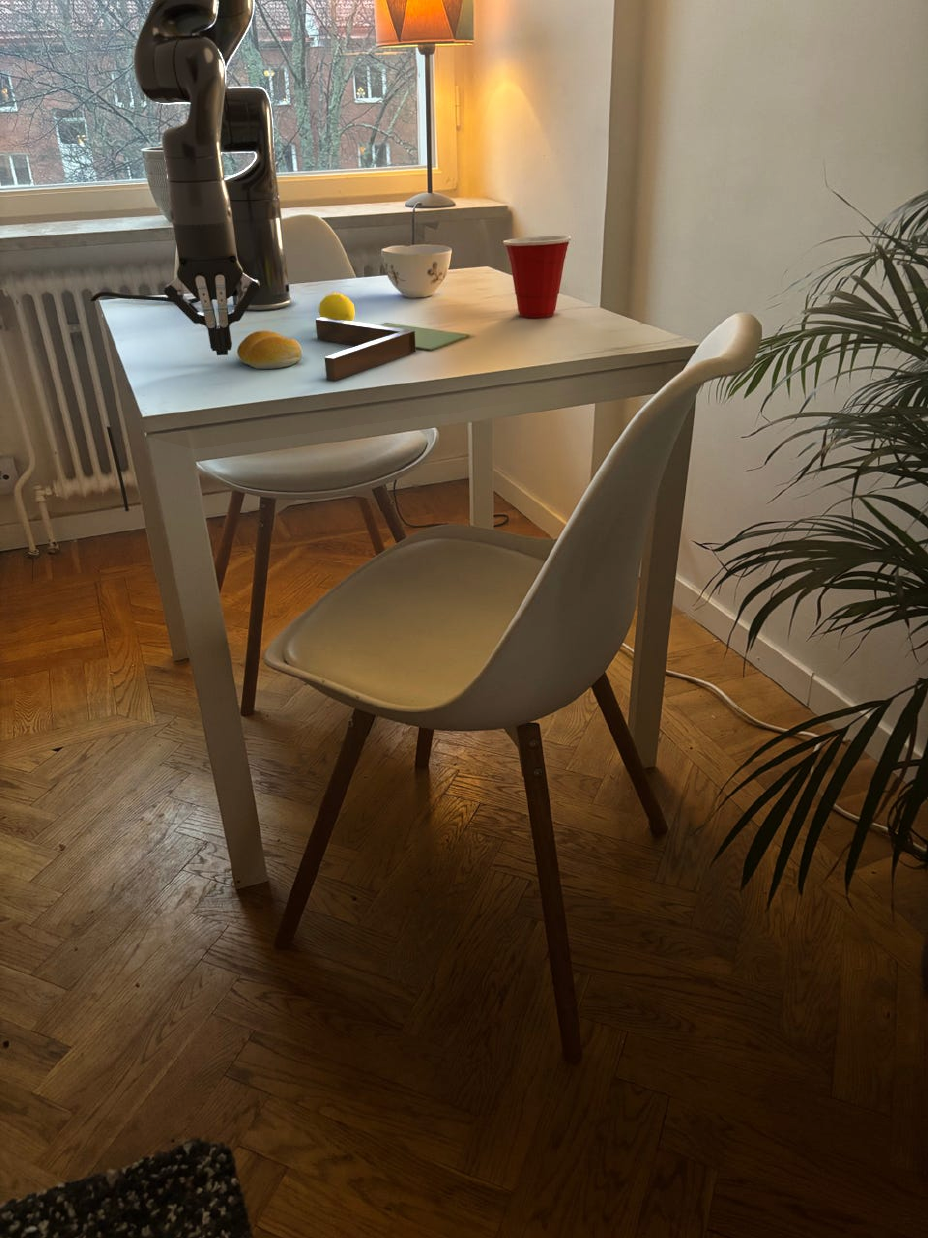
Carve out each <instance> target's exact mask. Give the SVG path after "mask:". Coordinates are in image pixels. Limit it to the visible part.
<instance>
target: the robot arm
mask: <svg viewBox="0 0 928 1238" xmlns="http://www.w3.org/2000/svg"><path fill="white" fill-rule="evenodd" d="M254 12H255V0H153V1H152V3H151V6H150V7H149V10H148V13H147V16H146V18H145V19H144V20H145V21H144V22H143V25H142V28H141V30H140V33H139V35H138V38H137V40H136V41H137V42H136V44H135V48H134V54H133V55H134V56H133V69H134V76H135V79H136V82H137V84H138V87H139V88H140V90H141V92H142V93H143V95H144V96H145V97H146V98H147V99H149V100H150V101H152V102H154V103H155V104H156V103H157V104H162V105H175V104H176V105H177V104H179V105H181V104H183V105H184V104H185V105H186V104H189V111H188V115H187V119H186V121H185V122H184V123H182V124H179V125H176V126H175V125H174V126H172V127H170V128H167V129H166V130H165V131H164V132H163V133H162V136H161V144H162V145H161V146H162V152H163V157H164V158H163V159H164V164H165V170H166V171H165V172H166V175H167V176H166V177H167V183H168V184H167V185H168V202H169V208H170V210H169V213H170V219H171V221H172V227H173V234H174V239H175V245H176V252H177V258H178V268H177V270H176V277H175V278H174V279H173V280H172V281H171V282H170V283H167V284H166V285H165V287H164V290H163V293H164V294H165V296H157V295H156V296H155V295H141V294H124V293H119V292H113V291H99V292H97V293H95V294H94V295H93V296H92V298H91V299H90V302H96V301H97V300H98V299H99V298H101V297H113V298H118V299H123V300H137V301H138V300H141V301H153V302H155V301H157V302H169V303H173V304H174V305H175V306H176V307H177V308H178V309H179V310H180V311H181V312H182V313H183V315H185V316H186V317H187V318H188V319H189V320H190V321H191V322H192V323H193V324H195V325H201V326H204V327H206V329H207V334H208V341H209V346H210V349H211V351H212V352H216V356H228V355H229V351H232V346H233V342H232V335H231V334H232V333H231V327H230V326H231V325H232V324H235V323H236V322H237V323H238V322H240V321H241V320H242V318H243V316H244V315H245V313H246V312H247V310H248V311H268V310H269V311H270V310H276V309H282V308H285V307H288V306H290V305H291V304H292V298H291V292H290V281H289V273H288V262H287V255H286V254H287V253H286V244H285V236H284V225H283V217H282V208H281V199H280V192H279V183H278V175H277V166H276V155H275V141H274V139H275V138H274V122H273V112H272V105H271V100H270V97H269V95H268V93H267V91H266V90H265V89H264V88H263V87H259V86H245V87H244V86H231V87H230V86H229V87H227V86H226V85H227V72H226V71H227V68H228V67H229V66H228V65H229V63H230V61H231V59H232V57H233V56H234V54H235V53H236V51H237V49H238V48H239V46H240V45H241V42H242V40H243V39H244V37H245V36H246V33H247V32H248V30H249V28H250V26H251V23H252V20H253V16H254ZM222 153H223V154H237V153H238V154H239V153H254V154H255V158H254V160H253V161H252V163H251V164H250V165H248V166H247V167H246V168H245V169H244V170H242V171H240V172H237V173H236V174H233V175H232V176H228V177H226V175H225V168H224V162H223V154H222ZM183 285H184V287H185V288H186V289H187V290H188V291H189V293H191V295H193V297H194V298H191V299H189V298H187V297H186V296H185V292H186V291H185V288H184V287H183ZM230 298H232V304H233V306H234V308H233V310H232V311H229V299H230ZM213 300H215V301H216V305H217V306H216V307H217V316H218V321H217V316H216V313H215V312H216V311H215V308H214V302H213ZM199 302H200V304H201V310H202V312H201V311H200V310H199V308H197V307H196V306H195V305H194V304H196V303H199ZM106 430H107V434H108V439H109V443H110V447H111V451H112V456H113V461H114V464H115V469H116V473H117V477H118V482H119V486H120V487H119V488H120V492H121V495H122V496H121V497H122V501H123V506H124V511H125V512H130V508H129V503H128V497H127V494H126V488H125V484H124V479H123V475H122V474H123V473H122V471H121V466H120V462H119V457H118V453H117V449H116V445H115V439H114V437H113V436H114V435H113V432H112V427H110V426H106Z"/></svg>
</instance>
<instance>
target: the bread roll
mask: <svg viewBox="0 0 928 1238" xmlns="http://www.w3.org/2000/svg"><path fill="white" fill-rule="evenodd" d="M236 351H237V352H236V354H237V356H238V358H239V359H240V361H241V362H242V363H244V364H246V365H249V366H251V367H252V368H253V369H258V370H269V369H272V370H273V369H282V368H287V367H290V366H293V365H296V363H298V362H299V361H300V360H301V359H302V358H303V357H302V356H303V354H302V352H303V350H302V347H301V346H300V344H299V342H298V341H297V340H296V339H293V338H290V337H284V336H283V335H282V334H279V333H277V332H275V331H272V330H271V331H270V330H258V331H254V332H252V333H250V334H248V335H247V336H246V337H244V339H243V340H241V342H240V343H239V345H238V346H237V349H236Z"/></svg>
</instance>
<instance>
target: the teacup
mask: <svg viewBox="0 0 928 1238" xmlns="http://www.w3.org/2000/svg"><path fill="white" fill-rule="evenodd" d="M452 251H453V250H452V248H451V247H450V246H446V245H442V244H440V245H439V244H429V243H427V244H424V243H423V244H410V245H408V246H406V245H403V244H402V245H391V246H388V247H384V248H381V249H380V254H381V255H380V256H381V261H382V264H383V268H384V271H385V274H386V276H387V278H388V280H389V281H390V283H391V284H392V285H393V287H394V288H395V289H396V290H397V291H398V292H399V293H400V294H401V295H402V296H403V297H405V298H414V299H415V298H425V297H426V298H427V297H429V296H434V295H435V293H436V291H437V290H439V288H440V286H441V285H442V284H443V283H444V281H445V279H446V277H447V274H448V272H449V268H450V264H451V258H452V253H453V252H452Z"/></svg>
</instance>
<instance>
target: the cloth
mask: <svg viewBox="0 0 928 1238" xmlns="http://www.w3.org/2000/svg"><path fill="white" fill-rule="evenodd" d="M378 326H385V327H392V328H399V329H406V330H413V331H415V350H422V351H427V352H432V351H434V350H437V349H439V348H442V347H445V346H447V345H450V344H453V343H456V342H458V341H461V340H464V339H466V338H469V337H470V334H469V333H468V334H467V333H460V332H454V331H447V330H440V329H432V328H426V327H425V328H424V327H418V326H411V325H405V324H398V323H390V322H384V323H382V324H378Z"/></svg>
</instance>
